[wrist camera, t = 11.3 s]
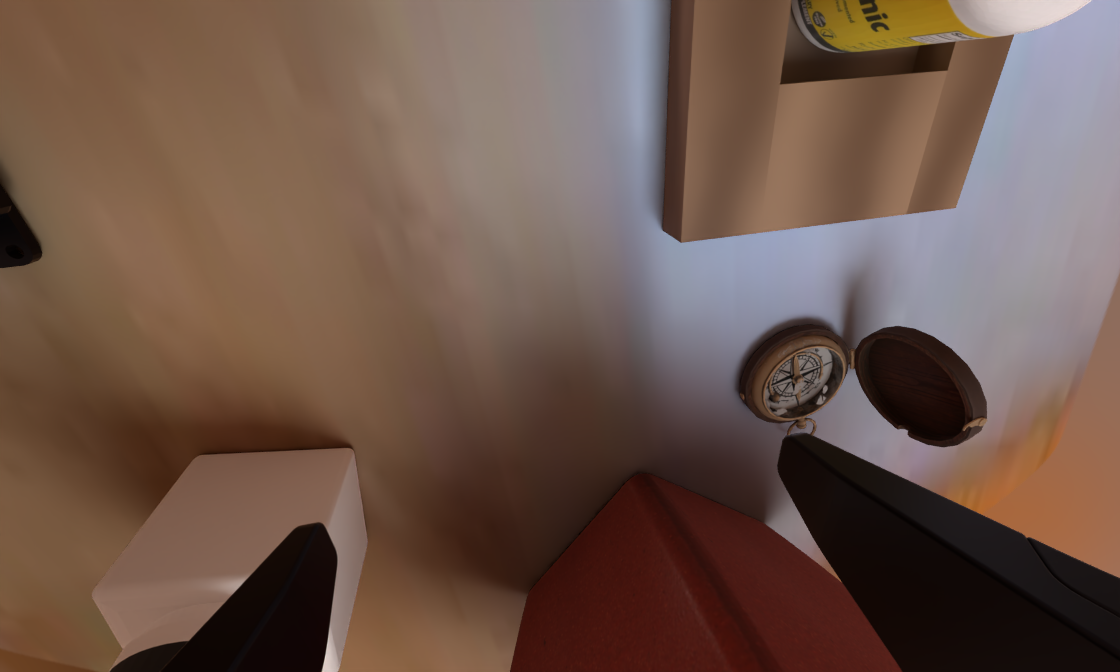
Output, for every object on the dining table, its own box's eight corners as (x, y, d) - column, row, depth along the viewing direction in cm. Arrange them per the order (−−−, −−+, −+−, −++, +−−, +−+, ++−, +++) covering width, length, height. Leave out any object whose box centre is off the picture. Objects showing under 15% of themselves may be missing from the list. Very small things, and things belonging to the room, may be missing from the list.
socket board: (662, 230, 21) (680, 242, 19) (681, -270, 13) (713, -326, 12) (917, 199, 22) (955, 207, 20) (1053, -263, 15) (1130, -310, 13)
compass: (728, 347, 24) (820, 435, 18) (866, 294, 24) (1006, 363, 18) (745, 450, 28) (826, 552, 22) (864, 405, 28) (978, 493, 22)
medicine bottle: (230, 553, 25) (54, 888, 14) (194, 451, 21) (-67, 787, 11) (369, 541, 26) (303, 838, 16) (355, 444, 23) (259, 735, 12)
